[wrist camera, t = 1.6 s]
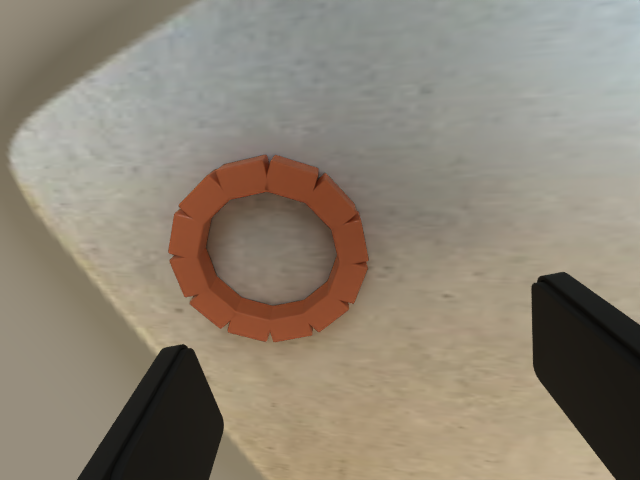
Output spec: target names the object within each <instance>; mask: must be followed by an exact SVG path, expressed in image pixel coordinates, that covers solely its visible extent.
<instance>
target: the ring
mask: <svg viewBox="0 0 640 480" xmlns="http://www.w3.org/2000/svg"><path fill="white" fill-rule="evenodd" d="M317 178H318V168H316V167H313V166H310V165H306V164H303V163H300V162H297V161H294V160H290V159H287V158H284V157H281V156H277V155H275V156H274V157H273V158H272V160H271V161H270V164H269V161H268V157H267V155H262V156H258V157H253V158H249V159H245V160H240V161H236V162H232V163H228V164H224V165H223V166H221V167H220V168H219V169H216V170H214V171H212V172H211V173H210V174H208V175H207V176H206V177H205V178H204V179H203V180H202V181H201V182H200V183H199V184H198V185H197V186H196V187H195V188H194V190H193V191H192V192H191V193H190V194H189V195H188V196H187V197H186V198H185V199H184V200H183V201H182V202H181V203H180V204H179V207H180V208H181V209H179V210H178V211H177V212H176V213H175V214H174V219H173V225H172V232H171V238H170V244H169V250H168V252H169V253H170V254H173V255H174V256H173V257H172V258H171V259H170V264H171V266H172V269H173V271H174V273H175V276H176V278H177V280H178V283H179V285H180V287H181V290H182V292H183V294H184V296H185V297H189V296H193V298H192V300H191V301H190V305H192V306H193V307H194V308H195V309H197V310H198V311H199V312H200V313H201V314H203V315H204V316H205V317H206V318H208V319H209V320H210V321H211V322H213V323H214V324H215V325H216V326H218V327H219V328H220V329H221V328H222V327H224V326H225V325H226V324H227V323H228V322H230V323H229V327H228V332H229V333H233V334H237V335H241V336H245V337H249V338H253V339H257V340H260V341H264V342H266V341H267V339H268V336H269V333H271V336H272V339H273V342H278V341H284V340H289V339H295V338H300V337H306V336H311V335H312V331H313V328H314V329H316V330H317V331H318V332H320V331H321V330H323V329H324V328H325V327H327V326H328V325H329V324H331V323H332V322H333V321H335V320H336V319H337V318H339V317H340V316H341V315H342V314H344V313H345V312H346V311H348V310H349V304H348V303H352V304H353V303H354V302H355V299H356V297H357V294H358V292H359V289H360V287H361V284H362V282H363V279H364V277H365V274H366V272H367V269H368V267H367V263H366V261H368V260H369V259H368V253H367V248H366V243H365V238H364V233H363V228H362V223H361V219H360V215H359V212H358V211H356V208H355V204H354V203H353V202H352V201H351V200H350V198H349V197H348V196H347V195H346V194H345V193H344V192H343V191H342V190H341V189H340V188H339V187H338V186H337V184H336V183H335V182H334V181H333V180H332V179H331V178H330V177H329V176H328V175H327V174H326V173H324V174H323V175H322V176H321V177H320V178H319V179H318V180H317ZM263 192H270V193H273V194H277V195H280V196H283V197H287V198H290V199H293V200H297V201H300V202H303V203H306V204H307V205H308V206H309V207H310V208H311V209H312V211H313V212H314V213H315V214H316V215H317V216H318V217H319V218H320V219H321V220H322V221H323V222H324V223H325V224H326V225H327V226H328V227H329V228H330V229H331V230H332V235H333V239H334V243H335V248H336V252H337V257H336V259H335V262H334V265H333V268H332V270H331V273H330V276H329V279H328V281H327V282H326V283H325V284H323V285H322V286H321V287H320V288H318V289H317V290H316V291H315V292H313V293H312V294H311V295H310V296H308V297H307V298H306V299H305V300H301V301H296V302H291V303H286V304H280V305H275V306H271V305H267V304H263V303H260V302H256V301H252V300H248V299H245V298H242V297H240V296H239V295H238V294H237V293H236V292H235V291H233V290H232V289H231V288H230V287H229V286H228V285H227V284H225V283H224V282H223V281H222V280H221V279H220V278H218V277H217V276H216V273H215V270H214V268H213V265H212V262H211V260H210V257H209V254H208V252H207V249H206V243H207V238H208V234H209V229H210V224H211V219H212V217H213V216H214V215H215V214H216V213H217V212H218V211H219V210H220V209H221V208H222V207H223V206H224V205H225V204H226V203H227V202H228V201H229V200H232V199H236V198H241V197H245V196H250V195H254V194H259V193H263Z"/></svg>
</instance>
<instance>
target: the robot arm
mask: <svg viewBox="0 0 640 480" xmlns="http://www.w3.org/2000/svg"><path fill="white" fill-rule="evenodd" d="M531 290H532V335H533V367H534V371H535V373H536V375H537V377H538V379H539V380H540V382H541V383H542V384H543V386H544V387H545V388H546V390H547V391H548V392H549V393H550V395H551V396H552V397H553V399H554V400H555V401H556V403H557V404H558V405H559V406H560V408H561V409H562V410H563V412H564V413H565V414H566V415H567V417H568V418H569V419H570V421H571V422H572V423H573V425H574V426H575V427H576V428H577V430H578V431H579V432H580V434H581V435H582V436H583V438H584V439H585V440H586V441H587V443H588V444H589V445H590V447H591V448H592V449H593V451H594V452H595V453H596V454H597V456H598V457H599V458H600V460H601V461H602V462H603V464H604V465H605V466H606V467H607V469H608V470H609V471H610V473H611V474H612V475H613V476H614V478H615V479H616V480H640V325H639V324H638V323H636V322H635V321H633V320H632V319H631V318H629V317H628V316H626V315H625V314H624V313H622V312H621V311H619V310H618V309H617V308H615V307H614V306H612V305H611V304H610V303H608V302H607V301H605V300H604V299H603V298H601V297H600V296H598V295H597V294H595V293H594V292H593V291H591V290H590V289H588V288H587V287H586V286H584V285H583V284H581V283H580V282H579V281H577V280H576V279H574V278H573V277H572V276H570V275H569V274H567V273H565V272H560V273H555V274H549V275H544V276H540V277H539V278H538V280H537V283H534V284H532V289H531ZM223 430H224V422H223V418H222V415H221V413H220V410H219V408H218V406H217V403H216V401H215V399H214V396H213V394H212V392H211V389H210V387H209V385H208V382H207V380H206V377H205V375H204V373H203V370H202V368H201V366H200V363H199V361H198V359H197V356H196V354H195V352H194V350H193V349H192V348H188V347H187V346H186V345H184V344H182V345H176V346H171V347H166V348H163V349H162V350H161V351H160V353H159V354H158V356H157V357H156V359H155V360H154V362H153V363H152V365H151V366H150V368H149V369H148V371H147V373H146V374H145V376H144V377H143V379H142V380H141V382H140V383H139V385H138V387H137V388H136V390H135V391H134V393H133V394H132V396H131V397H130V399H129V401H128V402H127V403H126V405H125V406H124V408H123V410H122V411H121V413H120V414H119V416H118V417H117V419H116V421H115V422H114V423H113V425H112V427H111V428H110V430H109V431H108V433H107V434H106V436H105V437H104V439H103V441H102V442H101V443H100V445H99V447H98V448H97V450H96V451H95V453H94V454H93V456H92V458H91V459H90V461H89V462H88V464H87V465H86V467H85V468H84V470H83V471H82V473H81V474H80V476H79V477H78V479H77V480H209V477H210V474H211V470H212V467H213V464H214V460H215V457H216V454H217V450H218V447H219V443H220V441H221V437H222V434H223Z"/></svg>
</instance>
